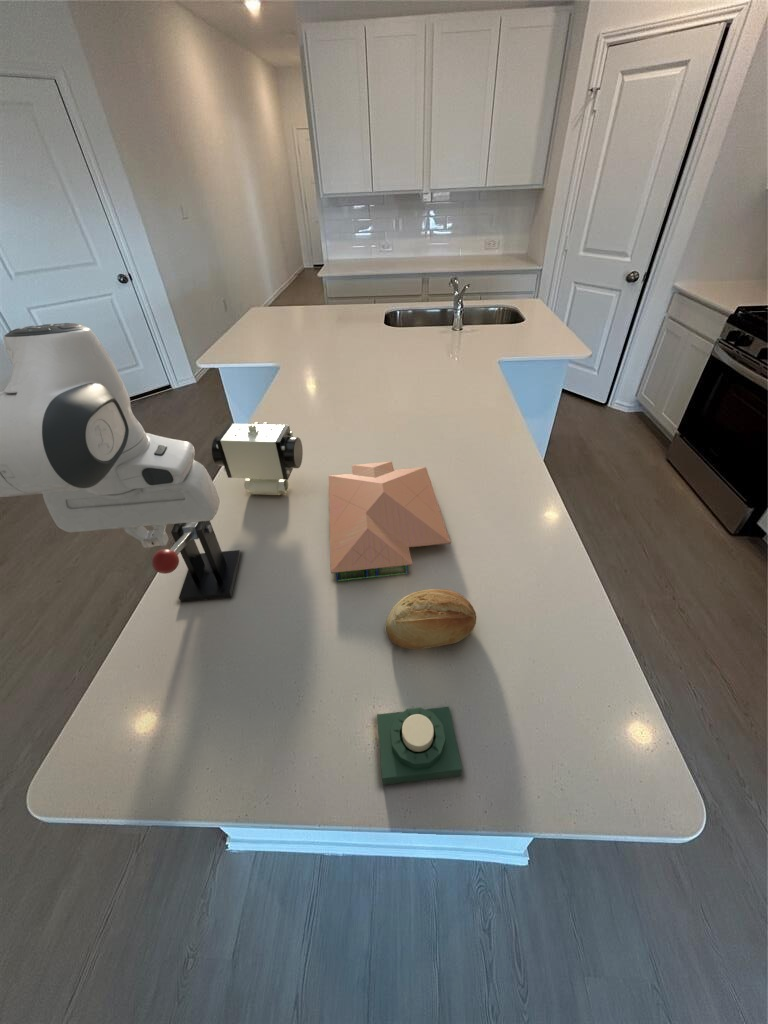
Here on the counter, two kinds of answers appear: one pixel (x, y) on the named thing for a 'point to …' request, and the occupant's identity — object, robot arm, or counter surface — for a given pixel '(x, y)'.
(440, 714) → the control block
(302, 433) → the counter surface
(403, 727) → the button
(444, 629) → the bread roll
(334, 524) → the house
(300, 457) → the ball valve
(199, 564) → the bracket
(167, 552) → the lever
